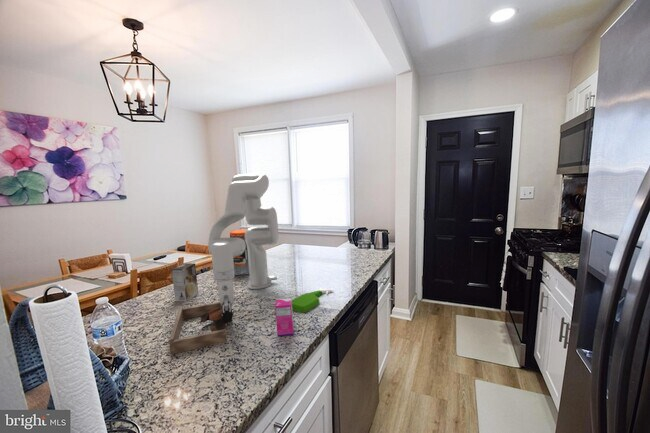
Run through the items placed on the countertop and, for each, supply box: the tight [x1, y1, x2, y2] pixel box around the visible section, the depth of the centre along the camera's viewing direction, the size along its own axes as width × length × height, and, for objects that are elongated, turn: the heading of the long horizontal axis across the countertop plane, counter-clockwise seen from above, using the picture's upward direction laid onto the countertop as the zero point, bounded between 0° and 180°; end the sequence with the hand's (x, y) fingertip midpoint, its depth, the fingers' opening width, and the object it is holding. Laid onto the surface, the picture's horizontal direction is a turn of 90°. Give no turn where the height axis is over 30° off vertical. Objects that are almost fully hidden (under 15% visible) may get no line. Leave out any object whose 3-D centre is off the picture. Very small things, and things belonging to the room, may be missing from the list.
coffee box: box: [171, 262, 199, 302], centre depth 132 cm, size 9×6×16 cm
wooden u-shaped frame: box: [168, 301, 228, 355], centre depth 102 cm, size 17×26×5 cm, turn 22°
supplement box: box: [274, 297, 295, 337], centre depth 97 cm, size 6×6×12 cm
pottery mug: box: [199, 308, 234, 332], centre depth 104 cm, size 12×10×8 cm
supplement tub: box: [229, 229, 249, 276], centre depth 169 cm, size 16×16×26 cm
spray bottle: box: [292, 287, 334, 313], centre depth 124 cm, size 3×11×24 cm
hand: (227, 316), depth 106 cm, fingers open, 9 cm apart
